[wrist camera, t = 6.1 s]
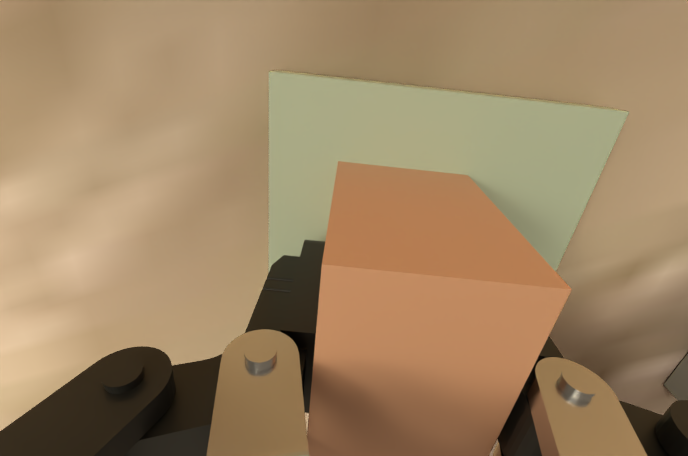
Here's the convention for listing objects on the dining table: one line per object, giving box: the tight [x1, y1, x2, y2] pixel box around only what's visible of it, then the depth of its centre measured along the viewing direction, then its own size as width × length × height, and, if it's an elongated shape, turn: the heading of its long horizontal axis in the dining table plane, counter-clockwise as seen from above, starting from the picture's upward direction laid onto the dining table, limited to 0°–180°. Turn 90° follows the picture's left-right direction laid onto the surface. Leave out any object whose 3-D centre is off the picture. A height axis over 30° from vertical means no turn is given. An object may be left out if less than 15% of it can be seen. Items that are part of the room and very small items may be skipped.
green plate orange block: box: [269, 70, 629, 456], centre depth 9 cm, size 10×9×6 cm
